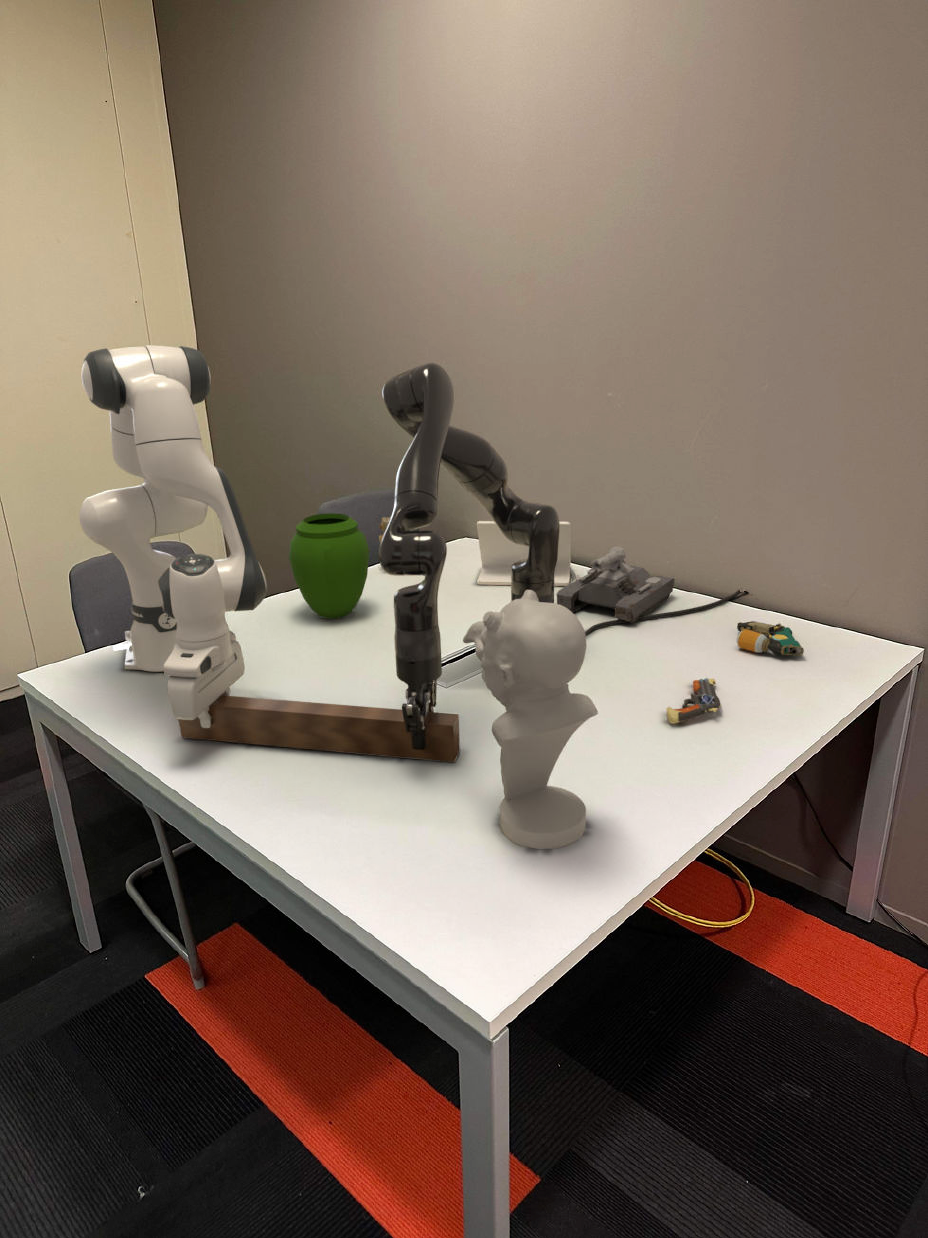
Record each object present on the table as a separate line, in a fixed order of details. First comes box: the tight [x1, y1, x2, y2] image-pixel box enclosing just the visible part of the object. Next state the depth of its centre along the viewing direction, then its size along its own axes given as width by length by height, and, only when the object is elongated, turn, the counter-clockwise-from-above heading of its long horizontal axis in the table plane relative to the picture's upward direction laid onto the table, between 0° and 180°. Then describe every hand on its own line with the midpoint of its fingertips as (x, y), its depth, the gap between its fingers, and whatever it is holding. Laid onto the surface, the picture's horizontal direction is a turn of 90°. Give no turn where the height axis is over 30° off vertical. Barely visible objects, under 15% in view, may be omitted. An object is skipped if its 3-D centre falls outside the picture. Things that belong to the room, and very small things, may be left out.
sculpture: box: [378, 516, 391, 544], centre depth 246 cm, size 6×7×15 cm
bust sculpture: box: [462, 590, 599, 850], centre depth 124 cm, size 16×24×35 cm
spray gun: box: [736, 620, 805, 657], centre depth 187 cm, size 4×17×15 cm
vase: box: [288, 512, 370, 620], centre depth 209 cm, size 20×20×24 cm
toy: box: [556, 546, 676, 624], centre depth 212 cm, size 25×20×15 cm
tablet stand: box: [476, 520, 572, 587], centre depth 236 cm, size 18×25×17 cm
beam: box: [178, 695, 461, 763], centre depth 149 cm, size 51×4×7 cm, turn 78°
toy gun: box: [666, 677, 722, 724], centre depth 161 cm, size 3×19×10 cm
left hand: (215, 718), depth 154 cm, fingers closed on beam, 4 cm apart
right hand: (422, 741), depth 146 cm, fingers closed on beam, 4 cm apart
